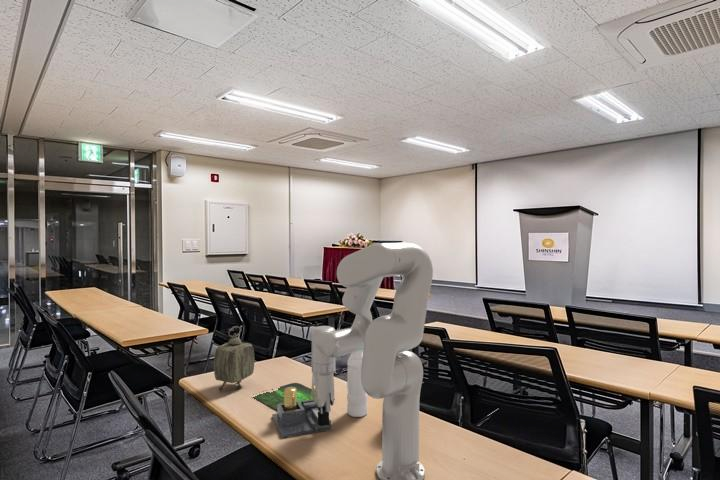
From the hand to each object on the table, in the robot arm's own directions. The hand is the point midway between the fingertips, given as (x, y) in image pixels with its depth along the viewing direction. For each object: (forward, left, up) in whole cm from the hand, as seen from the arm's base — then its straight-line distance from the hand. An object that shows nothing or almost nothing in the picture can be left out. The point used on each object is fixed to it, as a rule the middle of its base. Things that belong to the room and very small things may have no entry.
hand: (323, 424), depth 130 cm
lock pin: (+6, 0, -1) cm, 6 cm away
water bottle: (+9, -15, -3) cm, 18 cm away
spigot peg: (+11, +8, -2) cm, 14 cm away
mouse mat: (+31, +3, -3) cm, 31 cm away
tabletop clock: (+50, +22, -3) cm, 55 cm away
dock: (+9, +5, -3) cm, 11 cm away
